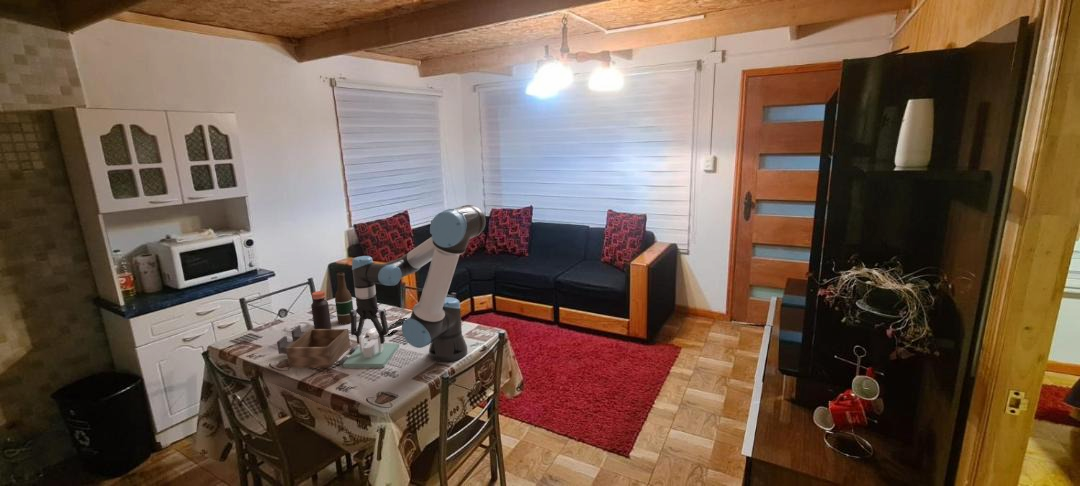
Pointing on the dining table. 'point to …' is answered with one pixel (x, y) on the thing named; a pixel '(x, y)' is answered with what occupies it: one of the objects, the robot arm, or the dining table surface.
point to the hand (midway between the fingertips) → (372, 350)
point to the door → (369, 355)
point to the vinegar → (320, 311)
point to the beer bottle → (343, 301)
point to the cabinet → (314, 347)
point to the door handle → (375, 335)
